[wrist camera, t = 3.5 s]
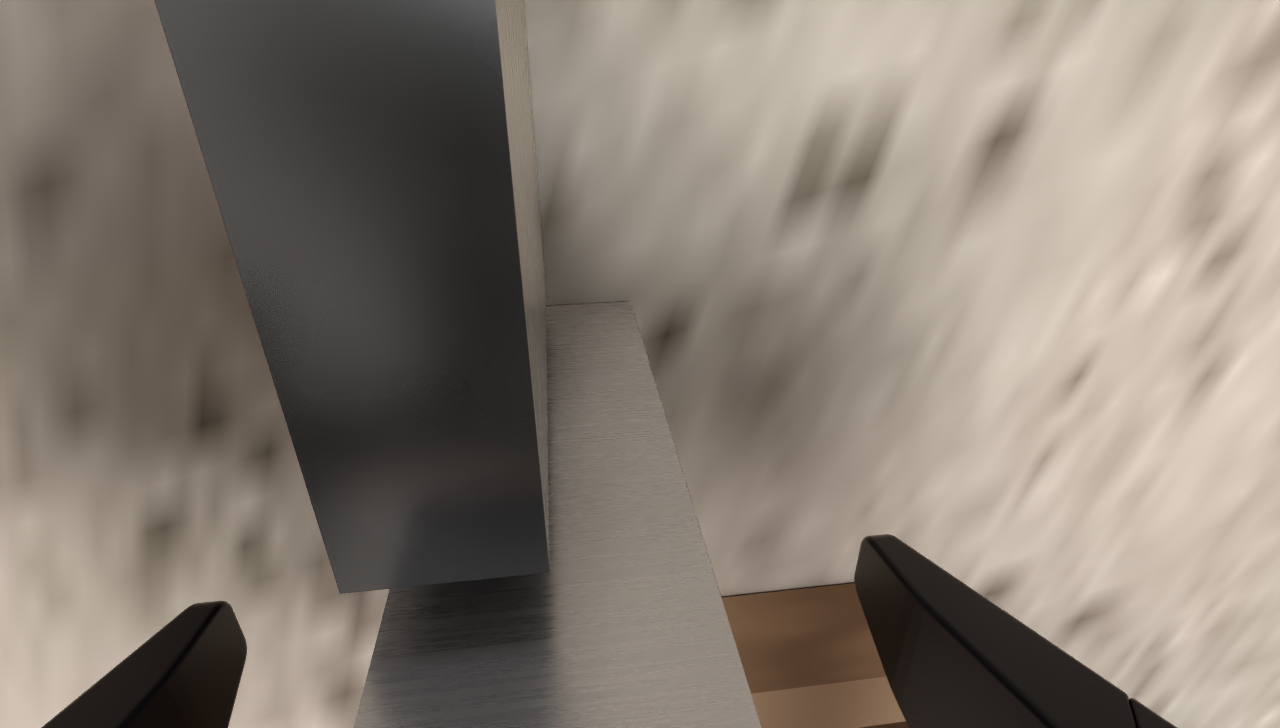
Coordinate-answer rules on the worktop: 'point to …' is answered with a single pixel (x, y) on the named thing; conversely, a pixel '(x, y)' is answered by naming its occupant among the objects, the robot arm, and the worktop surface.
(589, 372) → the square bit
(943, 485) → the worktop surface
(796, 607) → the brown wooden slotted frame
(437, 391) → the grey rectangular block
